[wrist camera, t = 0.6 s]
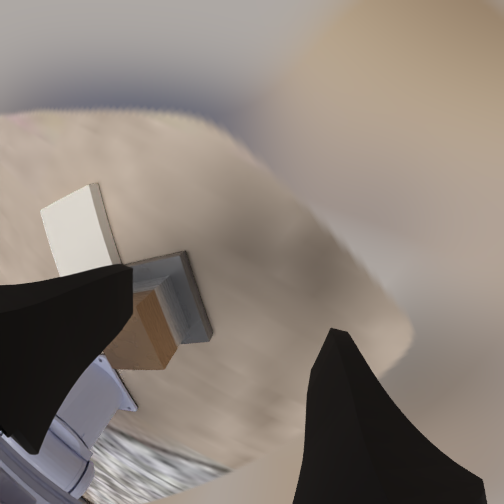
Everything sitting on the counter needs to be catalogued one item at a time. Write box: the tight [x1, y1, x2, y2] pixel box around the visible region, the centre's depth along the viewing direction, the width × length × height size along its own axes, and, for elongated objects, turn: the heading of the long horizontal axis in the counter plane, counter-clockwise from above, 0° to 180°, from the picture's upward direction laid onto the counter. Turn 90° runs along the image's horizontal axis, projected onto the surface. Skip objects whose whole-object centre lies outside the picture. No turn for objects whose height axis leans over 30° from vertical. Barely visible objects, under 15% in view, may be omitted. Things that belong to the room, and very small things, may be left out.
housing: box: [103, 275, 189, 370], centre depth 18 cm, size 4×4×5 cm
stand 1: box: [40, 183, 122, 277], centre depth 21 cm, size 7×7×1 cm
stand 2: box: [125, 251, 213, 344], centre depth 21 cm, size 7×7×1 cm
